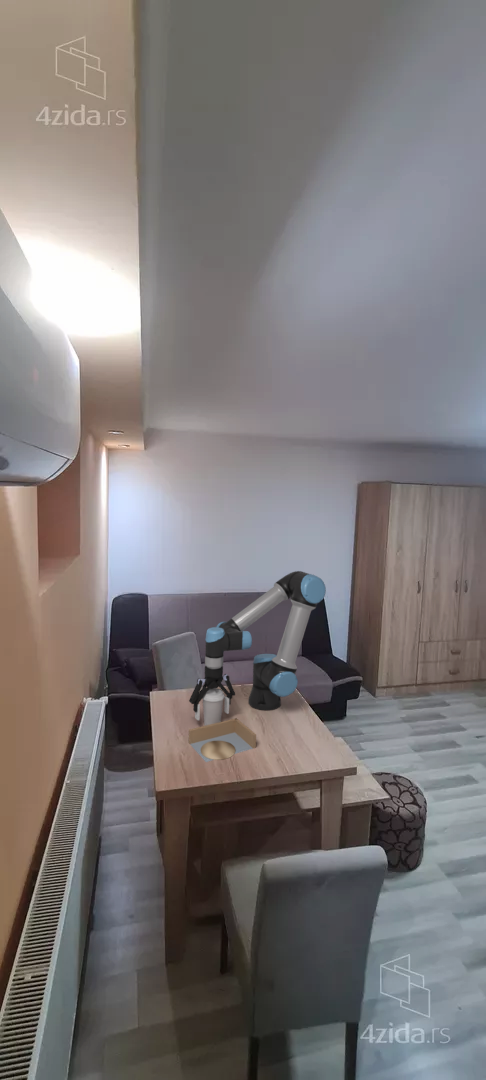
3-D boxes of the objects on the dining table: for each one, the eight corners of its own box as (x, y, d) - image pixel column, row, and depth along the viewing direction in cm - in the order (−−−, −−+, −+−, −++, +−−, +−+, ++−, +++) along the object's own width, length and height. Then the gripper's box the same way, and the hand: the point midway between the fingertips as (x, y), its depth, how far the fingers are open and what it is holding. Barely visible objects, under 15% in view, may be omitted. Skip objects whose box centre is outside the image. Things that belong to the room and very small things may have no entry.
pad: (225, 738, 181) (225, 737, 181) (241, 754, 170) (241, 753, 170) (194, 746, 175) (194, 745, 175) (210, 763, 164) (210, 762, 164)
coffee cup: (220, 733, 186) (221, 697, 185) (197, 730, 188) (198, 695, 187) (226, 723, 196) (227, 688, 195) (204, 720, 198) (205, 686, 196)
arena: (235, 732, 188) (236, 718, 188) (255, 749, 175) (256, 734, 175) (188, 744, 177) (188, 729, 177) (205, 764, 165) (206, 748, 164)
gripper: (235, 658, 200) (233, 706, 201) (182, 667, 187) (180, 717, 188) (244, 664, 193) (242, 713, 195) (189, 673, 180) (188, 725, 182)
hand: (212, 715), depth 192 cm, fingers open, 13 cm apart
